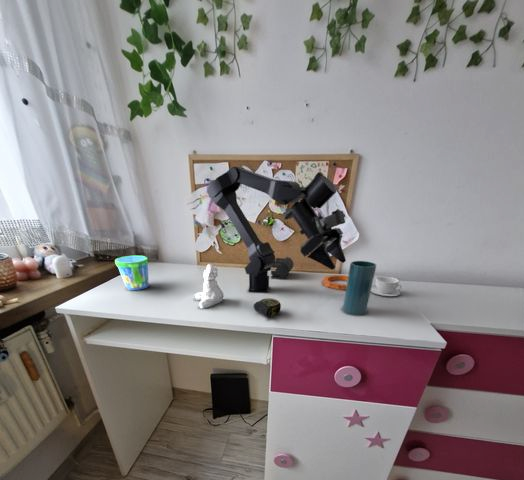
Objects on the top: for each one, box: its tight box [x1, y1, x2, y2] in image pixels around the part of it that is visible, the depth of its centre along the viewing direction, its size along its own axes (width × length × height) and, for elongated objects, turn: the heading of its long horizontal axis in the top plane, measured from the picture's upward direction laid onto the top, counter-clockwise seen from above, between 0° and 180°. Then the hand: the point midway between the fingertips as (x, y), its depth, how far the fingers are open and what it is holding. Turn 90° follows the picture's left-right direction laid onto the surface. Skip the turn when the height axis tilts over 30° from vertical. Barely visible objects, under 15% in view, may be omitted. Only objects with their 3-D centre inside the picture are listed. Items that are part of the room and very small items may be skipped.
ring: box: [322, 274, 348, 291], centre depth 104 cm, size 14×14×2 cm
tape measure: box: [253, 298, 282, 318], centre depth 79 cm, size 7×7×4 cm
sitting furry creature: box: [194, 263, 224, 309], centre depth 85 cm, size 10×9×12 cm
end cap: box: [270, 256, 294, 280], centre depth 112 cm, size 10×7×7 cm
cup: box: [342, 260, 377, 316], centre depth 79 cm, size 7×7×14 cm
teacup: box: [370, 276, 403, 297], centre depth 96 cm, size 10×10×5 cm
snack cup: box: [114, 255, 149, 291], centre depth 97 cm, size 16×10×10 cm
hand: (339, 265), depth 79 cm, fingers open, 9 cm apart
